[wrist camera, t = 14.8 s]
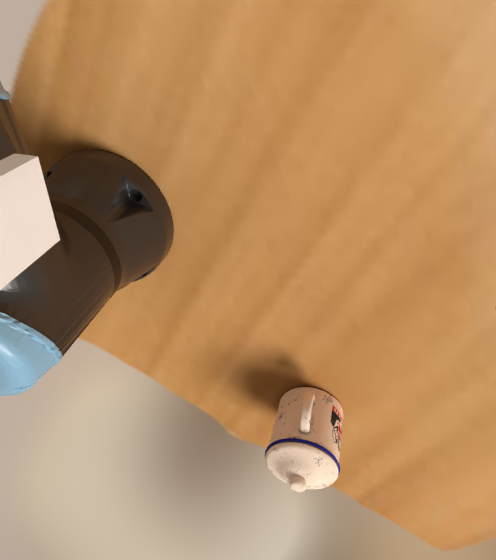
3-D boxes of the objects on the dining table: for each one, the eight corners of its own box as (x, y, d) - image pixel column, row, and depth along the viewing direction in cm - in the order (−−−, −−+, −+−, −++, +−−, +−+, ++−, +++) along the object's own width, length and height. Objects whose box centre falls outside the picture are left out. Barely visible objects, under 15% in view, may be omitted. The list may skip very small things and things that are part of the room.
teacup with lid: (342, 434, 60) (334, 517, 51) (278, 422, 62) (260, 499, 53) (349, 374, 53) (342, 458, 44) (278, 363, 55) (256, 441, 46)
